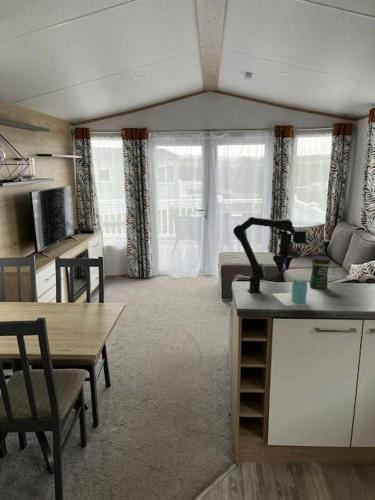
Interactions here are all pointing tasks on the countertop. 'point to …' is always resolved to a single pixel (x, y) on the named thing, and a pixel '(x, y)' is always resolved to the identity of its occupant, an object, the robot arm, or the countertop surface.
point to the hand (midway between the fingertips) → (283, 271)
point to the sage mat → (287, 299)
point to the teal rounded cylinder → (299, 291)
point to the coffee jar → (319, 272)
